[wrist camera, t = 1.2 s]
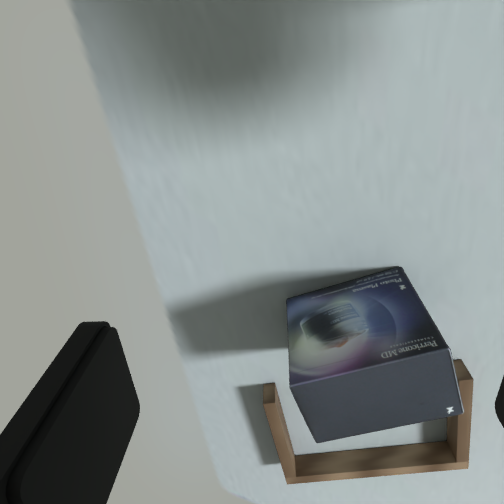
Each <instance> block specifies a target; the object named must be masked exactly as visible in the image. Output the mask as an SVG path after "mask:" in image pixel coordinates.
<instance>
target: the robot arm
mask: <svg viewBox="0 0 504 504" xmlns="http://www.w3.org/2000/svg"><path fill="white" fill-rule="evenodd" d="M495 410H496V414H497V417H498V419H499V421H500V422H501V424H502V426H503V427H504V376H503V379H502V383H501V386H500V389H499V392H498V395H497V398H496V401H495ZM139 412H140V404H139V400H138V397H137V394H136V390H135V387H134V384H133V381H132V377H131V374H130V371H129V368H128V365H127V361H126V358H125V355H124V352H123V348H122V345H121V342H120V339H119V335H118V333H117V330H116V329H115V328H114V327H110V325H109V323H108V322H104V321H102V322H82V323H80V324H79V325H78V327H77V328H76V329H75V331H74V332H73V334H72V335H71V337H70V338H69V339H68V341H67V342H66V343H65V345H64V346H63V348H62V349H61V350H60V352H59V353H58V355H57V356H56V357H55V359H54V361H53V362H52V363H51V365H50V366H49V367H48V369H47V370H46V371H45V373H44V374H43V376H42V377H41V378H40V380H39V381H38V383H37V384H36V385H35V387H34V388H33V390H32V391H31V392H30V394H29V395H28V397H27V398H26V399H25V401H24V402H23V404H22V405H21V406H20V408H19V409H18V411H17V412H16V414H15V415H14V416H13V418H12V419H11V420H10V422H9V423H8V425H7V426H6V428H5V429H4V430H3V432H2V433H1V434H0V504H106V503H107V500H108V498H109V495H110V492H111V490H112V487H113V484H114V482H115V479H116V476H117V473H118V471H119V468H120V466H121V463H122V460H123V457H124V455H125V452H126V449H127V447H128V444H129V442H130V439H131V436H132V434H133V431H134V428H135V426H136V423H137V420H138V417H139Z"/></svg>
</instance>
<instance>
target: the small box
mask: <svg viewBox="0 0 504 504" xmlns="http://www.w3.org/2000/svg"><path fill="white" fill-rule="evenodd" d="M286 304H287V325H288V350H289V351H288V352H289V376H290V377H289V382H290V383H289V385H290V390H291V392H292V394H293V397H294V399H295V401H296V403H297V405H298V407H299V409H300V412H301V414H302V415H303V417H304V420H305V422H306V424H307V426H308V428H309V430H310V432H311V434H312V436H313V438H314V440H315V442H316V443H321V442H326V441H331V440H336V439H340V438H345V437H350V436H355V435H360V434H365V433H370V432H375V431H380V430H385V429H390V428H395V427H400V426H404V425H410V424H415V423H420V422H425V421H430V420H435V419H440V418H445V417H450V416H455V415H460V414H463V413H464V408H463V403H462V399H461V395H460V390H459V386H458V382H457V376H456V372H455V367H454V363H453V359H452V353H451V349H450V348H449V346H448V345H447V344H446V342H445V340H444V338H443V337H442V335H441V333H440V331H439V330H438V328H437V326H436V325H435V323H434V321H433V320H432V318H431V316H430V315H429V313H428V311H427V310H426V308H425V306H424V304H423V302H422V301H421V299H420V298H419V296H418V294H417V292H416V291H415V289H414V287H413V286H412V284H411V282H410V280H409V279H408V277H407V275H406V274H405V272H404V270H403V268H402V267H397V268H393V269H390V270H386V271H383V272H379V273H376V274H373V275H369V276H366V277H362V278H359V279H355V280H352V281H348V282H345V283H341V284H338V285H334V286H331V287H327V288H324V289H320V290H317V291H314V292H310V293H306V294H303V295H300V296H296V297H292V298H289V299H287V300H286Z"/></svg>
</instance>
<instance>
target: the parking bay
mask: <svg viewBox="0 0 504 504" xmlns="http://www.w3.org/2000/svg"><path fill="white" fill-rule="evenodd" d="M453 363H454V367H455V372H456V376H457V382H458V386H459V390H460V395H461V399H462V403H463V408H464V413H463V414H460V415H455V416H450V417H447V441H441V442H431V443H421V444H411V445H400V446H390V447H380V448H370V449H359V450H349V451H339V452H329V453H318V454H308V455H298V456H295V455H294V451H293V448H292V444H291V440H290V436H289V433H288V429H287V425H286V422H285V418H284V414H283V411H282V407H281V403H280V400H279V396H278V392H277V389H276V385H275V383H270V384H264V386H263V406H264V409H265V412H266V416H267V419H268V422H269V426H270V429H271V432H272V436H273V439H274V442H275V445H276V449H277V452H278V455H279V459H280V462H281V465H282V469H283V472H284V475H285V479H286V482H287V484H296V483H308V482H319V481H331V480H342V479H354V478H365V477H377V476H388V475H400V474H411V473H423V472H434V471H446V470H457V469H468V465H469V447H470V430H471V412H472V395H473V378H472V376H471V374H470V373H469V371H468V370H467V368H466V366H465V365H464V363H463V361H462V360H461V359H459V360H453Z"/></svg>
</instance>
